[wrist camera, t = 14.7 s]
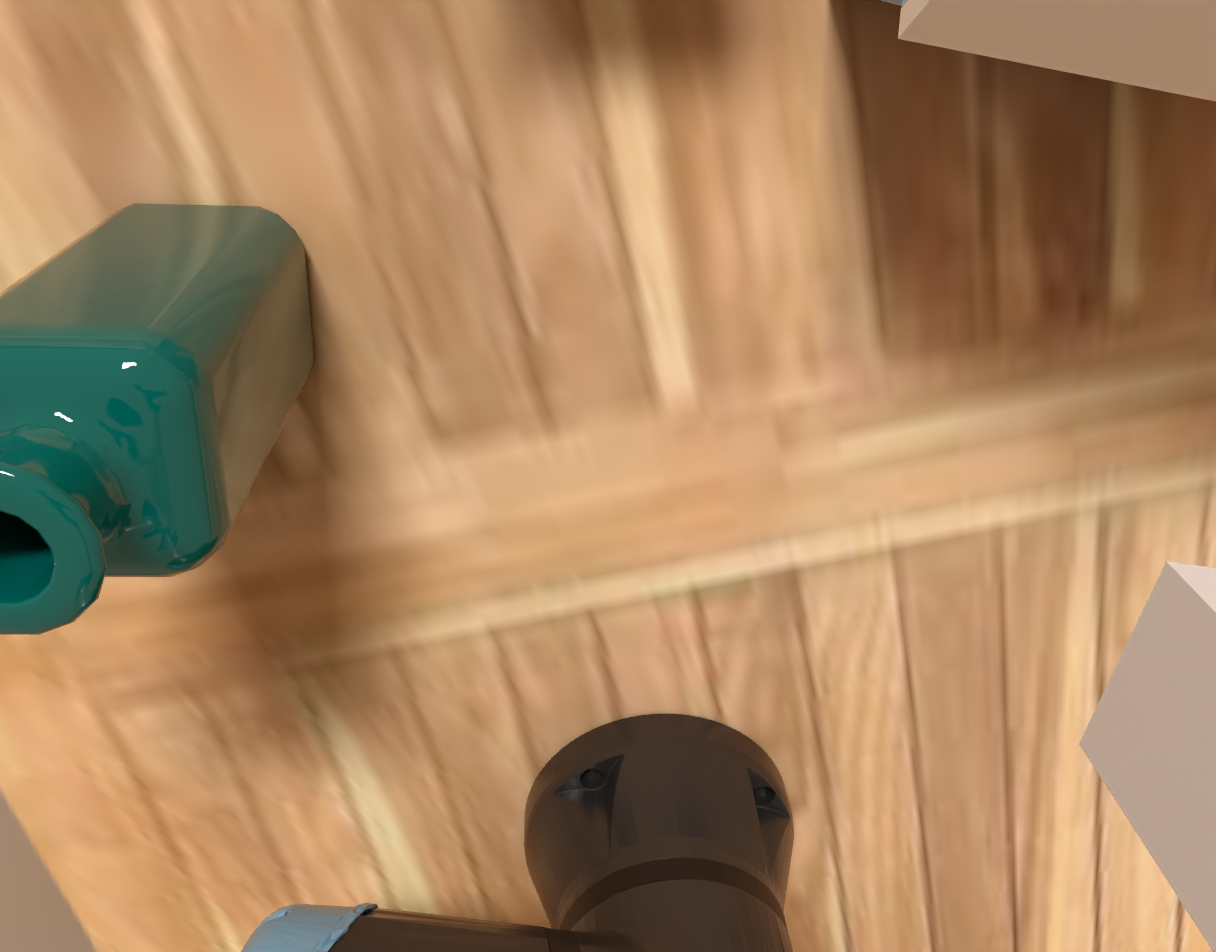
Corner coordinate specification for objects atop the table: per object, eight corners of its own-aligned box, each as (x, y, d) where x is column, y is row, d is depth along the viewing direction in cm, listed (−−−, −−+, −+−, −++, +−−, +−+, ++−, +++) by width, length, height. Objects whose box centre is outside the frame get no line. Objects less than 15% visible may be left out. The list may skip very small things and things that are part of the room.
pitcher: (303, 204, 46) (130, 417, 27) (319, 390, 50) (178, 694, 31) (64, 198, 46) (-291, 413, 26) (99, 386, 50) (-188, 696, 30)
